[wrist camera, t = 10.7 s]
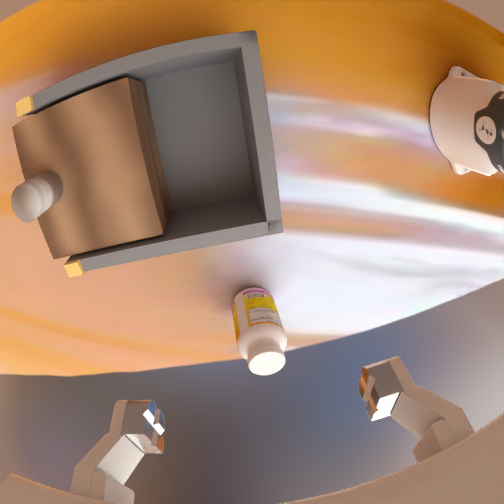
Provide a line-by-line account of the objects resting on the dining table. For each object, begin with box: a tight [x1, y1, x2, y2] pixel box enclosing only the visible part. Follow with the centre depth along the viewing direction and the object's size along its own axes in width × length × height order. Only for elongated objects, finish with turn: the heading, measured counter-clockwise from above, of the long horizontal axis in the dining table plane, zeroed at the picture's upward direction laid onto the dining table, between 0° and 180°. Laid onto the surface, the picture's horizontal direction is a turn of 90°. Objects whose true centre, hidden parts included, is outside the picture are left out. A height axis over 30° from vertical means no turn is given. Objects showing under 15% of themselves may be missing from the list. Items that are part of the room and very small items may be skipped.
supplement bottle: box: [232, 288, 287, 375], centre depth 41 cm, size 7×7×13 cm
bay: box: [15, 31, 283, 277], centre depth 29 cm, size 24×20×11 cm
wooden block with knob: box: [12, 77, 172, 259], centre depth 26 cm, size 14×16×13 cm
